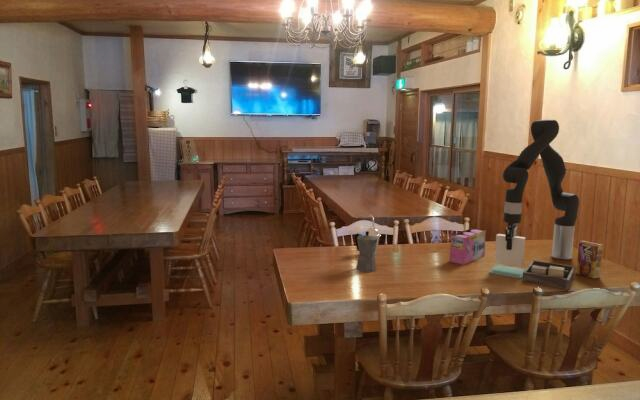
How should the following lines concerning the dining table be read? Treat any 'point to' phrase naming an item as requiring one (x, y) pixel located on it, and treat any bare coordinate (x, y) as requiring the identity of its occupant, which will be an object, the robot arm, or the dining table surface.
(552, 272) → the birch offcut
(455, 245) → the pink multipack
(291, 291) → the dining table surface
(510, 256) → the white square slab
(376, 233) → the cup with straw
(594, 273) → the candy box
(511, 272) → the teal mat
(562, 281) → the tray
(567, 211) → the robot arm
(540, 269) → the grey mdf offcut
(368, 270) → the coffeepot
